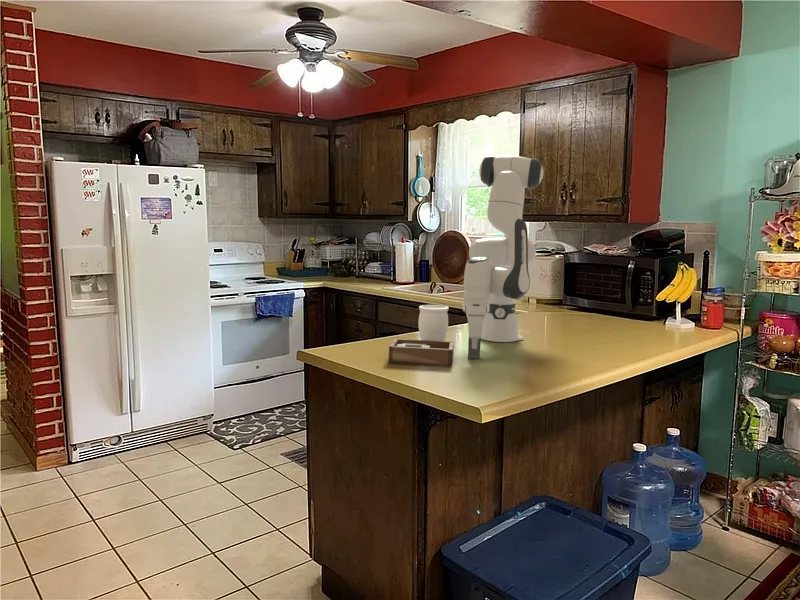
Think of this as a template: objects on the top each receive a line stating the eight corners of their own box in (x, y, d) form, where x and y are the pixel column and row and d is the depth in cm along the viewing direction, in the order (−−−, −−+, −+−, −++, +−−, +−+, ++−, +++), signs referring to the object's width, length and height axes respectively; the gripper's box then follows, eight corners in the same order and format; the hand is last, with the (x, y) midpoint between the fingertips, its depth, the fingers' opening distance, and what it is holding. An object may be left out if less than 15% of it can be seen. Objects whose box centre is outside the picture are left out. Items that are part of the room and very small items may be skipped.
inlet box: (394, 354, 206) (394, 338, 205) (453, 357, 203) (453, 341, 202) (388, 363, 193) (389, 346, 192) (451, 367, 190) (452, 350, 190)
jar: (449, 346, 221) (451, 305, 219) (444, 352, 211) (445, 309, 209) (421, 343, 224) (422, 303, 222) (414, 349, 214) (415, 307, 212)
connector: (468, 355, 206) (469, 332, 205) (479, 356, 206) (480, 333, 204) (467, 358, 202) (468, 334, 201) (479, 359, 202) (480, 335, 201)
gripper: (467, 301, 212) (465, 339, 214) (465, 310, 192) (464, 352, 194) (485, 301, 211) (483, 340, 213) (486, 311, 191) (484, 354, 193)
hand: (474, 346), depth 203 cm, fingers closed on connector, 4 cm apart
